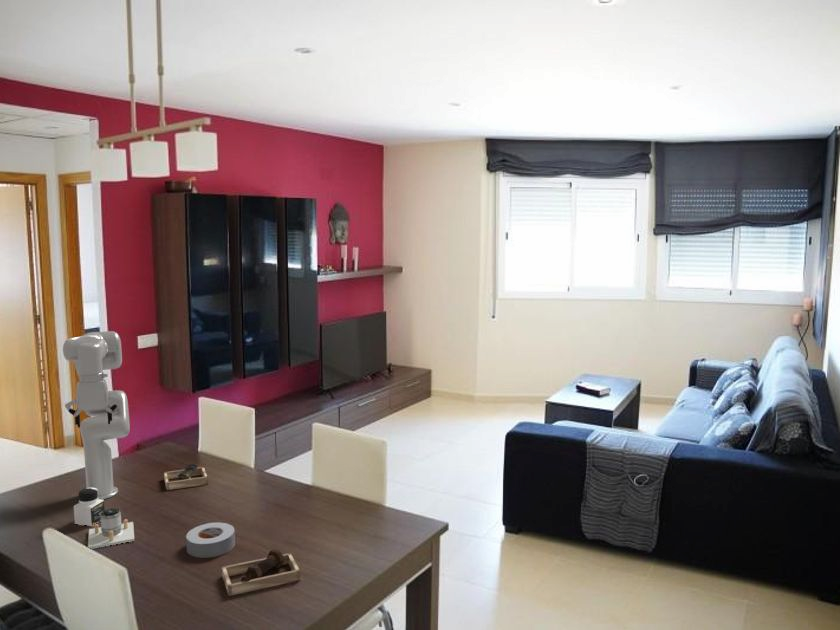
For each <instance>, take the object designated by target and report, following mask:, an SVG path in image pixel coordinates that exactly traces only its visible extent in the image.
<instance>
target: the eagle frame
mask: <svg viewBox="0 0 840 630" xmlns="http://www.w3.org/2000/svg"><path fill="white" fill-rule="evenodd" d="M179 472H181V473H182V474H183V472H184V469H180V470H179V469H178V470H177V469H176V470H171V471H164V472H163V478H164V484H165V489H166V490H165V491H172V490H178V489H186V488H191V487H199V486H204V485H205V486H206V485H208V484H209V477H208V474H207V472H206V470H205V466H197V469H196V471H194V472H193V473H191V476H192V478H191V479H186V480H180V479H182V477H180V478H179V479H178V480H174V479H177V478H176V474H177V473H179ZM189 475H190V474H189ZM200 475H201V476H202V477H200ZM193 476H194V477H193ZM195 476H199V477H195ZM169 480H173V481H169Z"/></svg>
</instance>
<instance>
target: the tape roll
mask: <svg viewBox="0 0 840 630" xmlns="http://www.w3.org/2000/svg"><path fill="white" fill-rule="evenodd" d="M185 535H186V536H185V543H186V552H187V554H188V555H190V556H191V557H194V558H199V559H200V558H201V559H202V558H203V559H204V558H205V559H207V558H214V557H218V556H223V555H225V554H227V553H229V552H230V551H232V550H233V548H235V545H236V537H235V535H236V534H235V527H234V526H233V525H232V524H229V523H225V522H208V523H205V524H200V525H198V526H195V527H193V528H192V529H190V530H189V531H187V533H186V534H185Z"/></svg>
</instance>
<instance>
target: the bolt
mask: <svg viewBox="0 0 840 630" xmlns="http://www.w3.org/2000/svg"><path fill="white" fill-rule="evenodd" d="M268 552H269V553H268V554H267V557H265V558H266V559H265V560H263V561H262V562H260V563H259V564H257V565H250V566H249V567H248V569H247V572H245V573H243V574H241V575H240V577H239V578H240V582H243V581H249V580H252V579H256V578H261V577H263V574H265V573H266V572H268V571H269V570H270V569H272V568H276V569H279V568H280V567H281V566H283V565H282V564H283V562H284V557H283V555H282V554H283V553H282V552H281V550H279V549H274V548H273V549H272V548H271V550H270V551H268Z"/></svg>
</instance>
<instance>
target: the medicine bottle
mask: <svg viewBox="0 0 840 630" xmlns="http://www.w3.org/2000/svg"><path fill="white" fill-rule="evenodd" d="M103 511H105V499H102V500H101V499H98V490H97V489H96V488H87V487H86V488H83V489H80V490H79V492H78V503H76V504H75V505H73V514H74V515H73V517H74V524H78V525H77V526H84V525H87V526H86V527H94V524H96V523H97V524H98V523H99V521H100V522H101V517H100V515H101V513H102V512H103Z"/></svg>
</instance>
